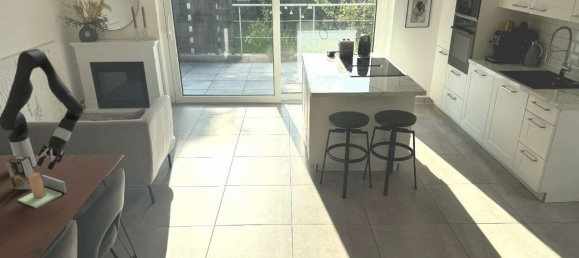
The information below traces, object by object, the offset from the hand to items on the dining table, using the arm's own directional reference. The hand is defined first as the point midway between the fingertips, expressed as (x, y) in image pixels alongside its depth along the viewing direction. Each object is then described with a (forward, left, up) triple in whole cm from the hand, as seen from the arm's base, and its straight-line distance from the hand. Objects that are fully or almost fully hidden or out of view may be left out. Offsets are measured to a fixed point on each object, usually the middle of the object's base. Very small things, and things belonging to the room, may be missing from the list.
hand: (43, 167), depth 193 cm
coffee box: (-18, -2, -15) cm, 23 cm away
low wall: (-1, +3, -14) cm, 15 cm away
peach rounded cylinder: (0, -5, -13) cm, 14 cm away
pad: (0, -6, -14) cm, 15 cm away
